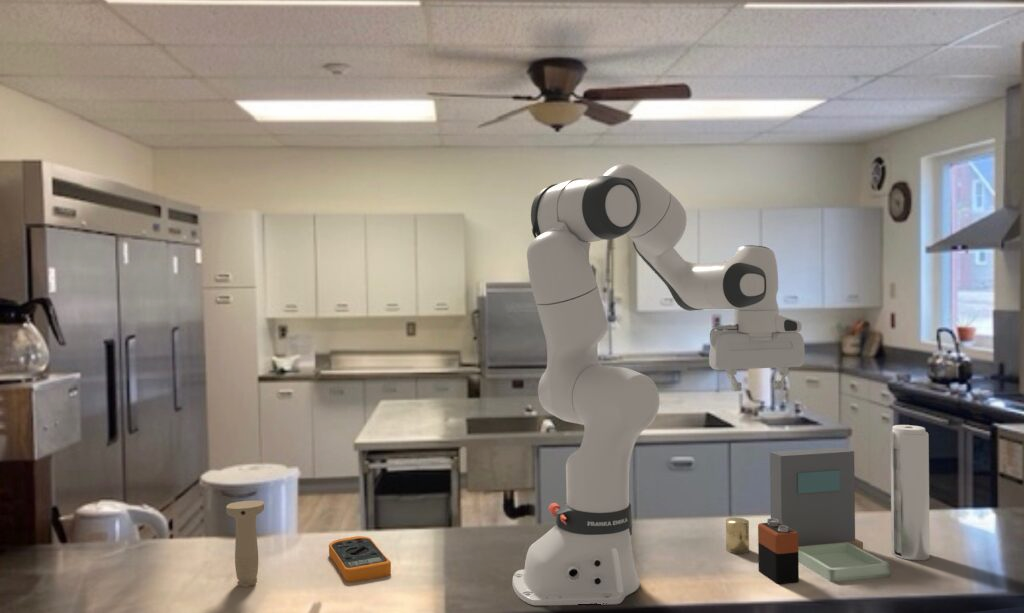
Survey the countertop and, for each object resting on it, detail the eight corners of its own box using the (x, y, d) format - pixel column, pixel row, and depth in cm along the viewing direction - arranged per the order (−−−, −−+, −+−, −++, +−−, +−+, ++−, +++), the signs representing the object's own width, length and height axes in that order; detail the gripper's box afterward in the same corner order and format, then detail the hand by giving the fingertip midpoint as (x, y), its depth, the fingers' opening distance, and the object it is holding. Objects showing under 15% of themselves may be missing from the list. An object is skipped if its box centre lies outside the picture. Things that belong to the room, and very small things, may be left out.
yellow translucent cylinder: (732, 555, 144) (732, 525, 144) (722, 548, 148) (721, 518, 148) (753, 553, 144) (753, 523, 144) (742, 546, 149) (742, 516, 149)
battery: (779, 569, 136) (778, 516, 136) (800, 583, 129) (799, 527, 129) (757, 572, 135) (756, 518, 135) (777, 586, 128) (776, 529, 128)
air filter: (934, 561, 138) (933, 430, 138) (897, 559, 140) (896, 429, 139) (922, 549, 145) (921, 423, 144) (887, 548, 146) (886, 423, 146)
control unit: (780, 557, 142) (778, 457, 142) (763, 547, 148) (762, 451, 147) (863, 549, 145) (861, 452, 145) (843, 540, 151) (842, 445, 151)
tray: (830, 582, 130) (830, 570, 130) (792, 558, 141) (792, 547, 141) (890, 576, 132) (890, 564, 132) (848, 553, 144) (848, 542, 144)
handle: (263, 590, 131) (261, 507, 131) (226, 593, 130) (223, 509, 129) (267, 580, 136) (265, 499, 135) (231, 583, 135) (229, 502, 134)
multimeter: (368, 549, 152) (368, 533, 152) (392, 579, 136) (392, 561, 136) (326, 556, 148) (326, 539, 148) (346, 588, 132) (346, 569, 132)
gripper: (716, 325, 148) (718, 394, 148) (808, 323, 152) (809, 389, 152) (703, 324, 154) (704, 390, 154) (791, 321, 158) (792, 385, 158)
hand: (757, 389), depth 153 cm, fingers open, 8 cm apart
